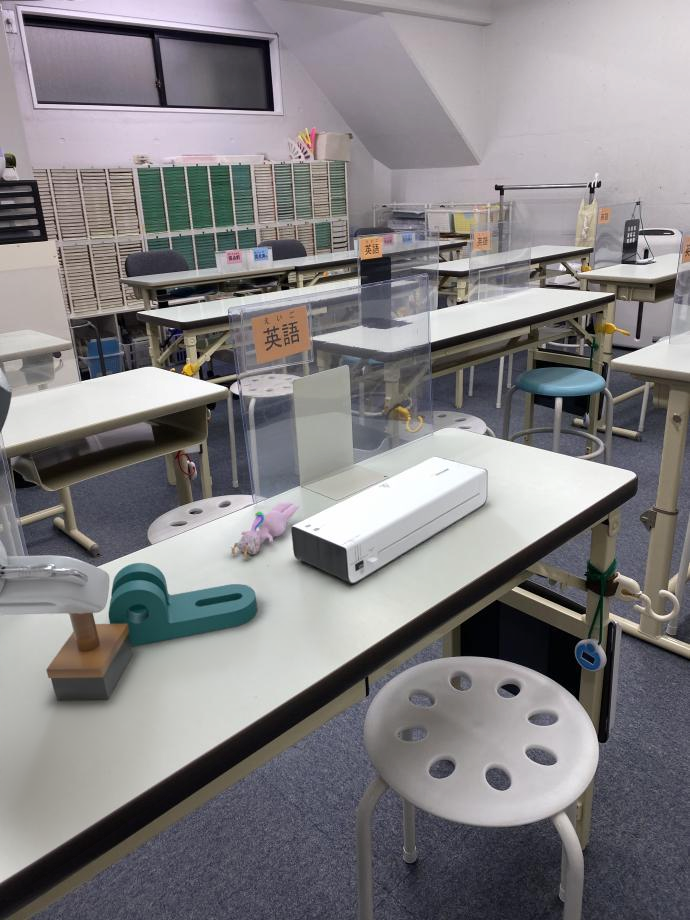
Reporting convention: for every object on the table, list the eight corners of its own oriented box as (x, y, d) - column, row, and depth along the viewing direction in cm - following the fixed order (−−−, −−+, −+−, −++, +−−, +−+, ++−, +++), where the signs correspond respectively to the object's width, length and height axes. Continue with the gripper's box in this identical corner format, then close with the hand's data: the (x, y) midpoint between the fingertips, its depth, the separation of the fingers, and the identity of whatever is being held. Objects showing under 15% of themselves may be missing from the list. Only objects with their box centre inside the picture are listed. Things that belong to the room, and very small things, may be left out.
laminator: (434, 487, 124) (434, 455, 121) (493, 505, 115) (493, 471, 113) (294, 563, 102) (290, 525, 99) (354, 591, 93) (351, 551, 91)
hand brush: (108, 701, 76) (81, 589, 71) (54, 701, 77) (24, 591, 71) (134, 653, 84) (112, 550, 79) (85, 654, 84) (60, 551, 79)
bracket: (116, 649, 85) (103, 595, 82) (119, 619, 91) (108, 567, 88) (260, 621, 88) (253, 568, 85) (254, 594, 94) (247, 544, 92)
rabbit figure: (257, 570, 103) (312, 516, 113) (248, 538, 100) (305, 486, 111) (226, 561, 106) (282, 509, 117) (216, 530, 103) (275, 479, 114)
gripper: (75, 530, 55) (138, 572, 68) (-163, 537, 57) (-57, 577, 69) (62, 608, 52) (131, 637, 65) (-186, 614, 54) (-72, 640, 67)
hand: (32, 606), depth 67 cm, fingers open, 8 cm apart
